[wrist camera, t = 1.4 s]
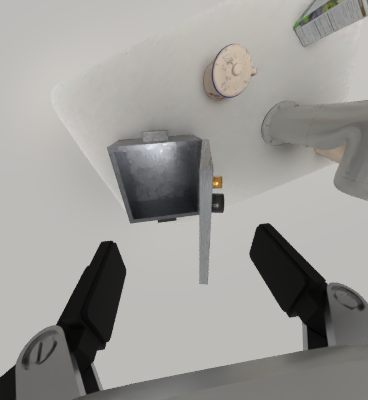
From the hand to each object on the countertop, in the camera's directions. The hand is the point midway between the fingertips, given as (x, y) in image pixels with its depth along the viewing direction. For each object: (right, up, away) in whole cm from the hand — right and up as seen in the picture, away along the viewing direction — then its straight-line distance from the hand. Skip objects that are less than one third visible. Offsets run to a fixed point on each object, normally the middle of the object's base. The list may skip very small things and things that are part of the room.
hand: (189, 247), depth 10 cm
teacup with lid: (+11, +36, +30) cm, 48 cm away
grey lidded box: (-8, +13, +40) cm, 43 cm away
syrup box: (+31, +47, +27) cm, 62 cm away
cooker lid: (+3, +3, +21) cm, 22 cm away
